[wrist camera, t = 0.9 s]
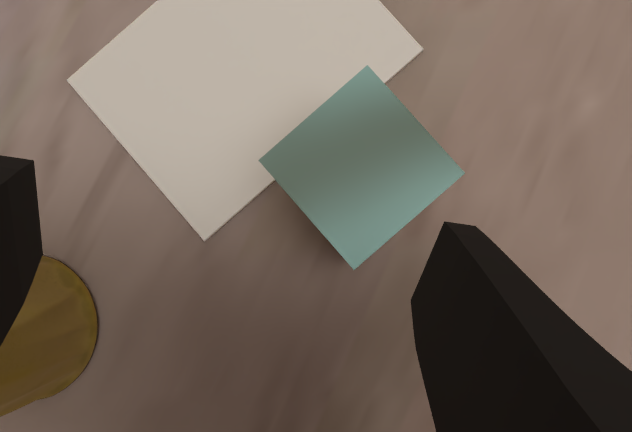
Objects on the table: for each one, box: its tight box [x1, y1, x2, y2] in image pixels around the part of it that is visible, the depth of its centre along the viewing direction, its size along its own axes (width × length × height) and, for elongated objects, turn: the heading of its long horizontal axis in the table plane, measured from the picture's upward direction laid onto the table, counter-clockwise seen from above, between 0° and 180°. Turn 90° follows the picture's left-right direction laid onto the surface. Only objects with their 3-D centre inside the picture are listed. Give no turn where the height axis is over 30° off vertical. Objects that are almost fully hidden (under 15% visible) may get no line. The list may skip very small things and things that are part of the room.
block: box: [258, 65, 465, 270], centre depth 19 cm, size 4×4×8 cm
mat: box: [67, 0, 423, 241], centre depth 24 cm, size 9×12×1 cm
